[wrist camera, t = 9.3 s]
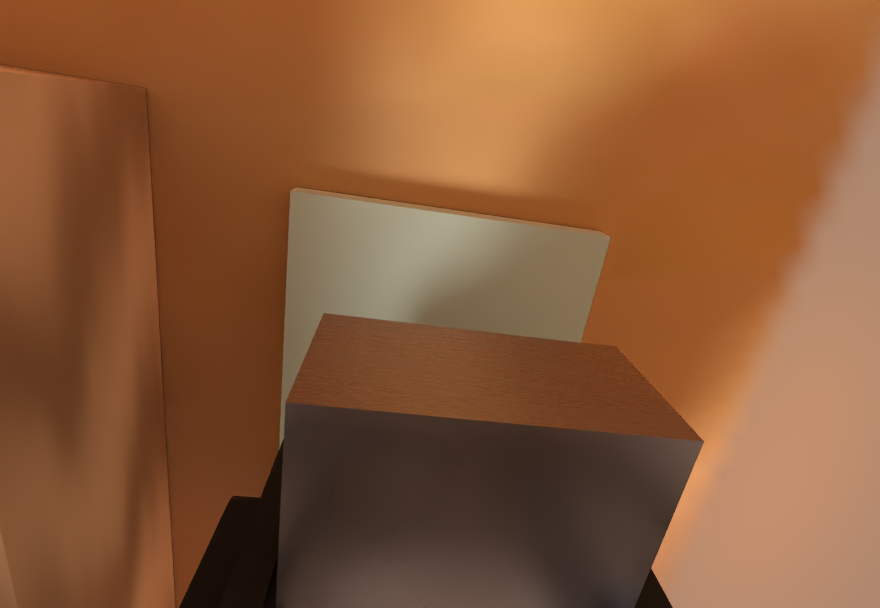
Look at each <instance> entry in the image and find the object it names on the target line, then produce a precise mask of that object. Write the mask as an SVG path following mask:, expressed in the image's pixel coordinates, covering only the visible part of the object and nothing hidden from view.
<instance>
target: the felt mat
mask: <svg viewBox="0 0 880 608" xmlns="http://www.w3.org/2000/svg"><path fill="white" fill-rule="evenodd" d="M610 239H611V237H610V236H608V235H606V234H605V233H603V232H601V231H596V230H589V229H582V228H575V227H568V226H561V225H554V224H547V223H540V222H534V221H527V220H520V219H513V218H506V217H499V216H492V215H485V214H479V213H472V212H465V211H458V210H451V209H444V208H437V207H430V206H423V205H417V204H410V203H403V202H396V201H389V200H382V199H375V198H368V197H361V196H355V195H348V194H341V193H334V192H327V191H320V190H313V189H306V188H299V187H296V188H294V189H293V190H291V191H290V209H289V231H288V254H287V277H286V299H285V322H284V345H283V368H282V390H281V413H280V436H279V449H280V446H281V444H282V441H283V439H284V423H285V402H286V400H287V398H288V395H289V393H290V391H291V388H292V386H293V384H294V381H295V379H296V377H297V374H298V372H299V369H300V367H301V365H302V362H303V360H304V358H305V355H306V353H307V351H308V348H309V346H310V344H311V341H312V339H313V337H314V334H315V332H316V330H317V327H318V325H319V323H320V320H321V318H322V316H323V313H328V314H337V315H345V316H354V317H363V318H371V319H380V320H388V321H397V322H406V323H414V324H423V325H432V326H440V327H449V328H457V329H466V330H475V331H483V332H492V333H500V334H509V335H518V336H526V337H535V338H544V339H552V340H561V341H569V342H578V343H581V340H582V337H583V333H584V330H585V326H586V323H587V319H588V316H589V312H590V309H591V305H592V302H593V298H594V295H595V291H596V288H597V284H598V281H599V277H600V274H601V270H602V267H603V263H604V260H605V256H606V253H607V249H608V246H609V243H610Z"/></svg>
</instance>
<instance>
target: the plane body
mask: <svg viewBox="0 0 880 608" xmlns="http://www.w3.org/2000/svg"><path fill="white" fill-rule="evenodd" d="M0 608H175V592H174V575H173V557H172V539H171V522H170V504H169V487H168V469H167V451H166V434H165V416H164V398H163V381H162V363H161V346H160V328H159V310H158V293H157V275H156V257H155V240H154V222H153V204H152V187H151V169H150V152H149V134H148V116H147V99H146V88H140V87H134V86H128V85H122V84H116V83H110V82H103V81H97V80H91V79H85V78H79V77H73V76H67V75H61V74H55V73H48V72H42V71H36V70H30V69H24V68H18V67H12V66H6V65H0Z"/></svg>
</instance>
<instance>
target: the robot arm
mask: <svg viewBox="0 0 880 608" xmlns="http://www.w3.org/2000/svg"><path fill="white" fill-rule="evenodd" d="M283 443H284V439H283V441H282V444H281V446H280V449H279V452H278V454H277V457H276V459H275V462H274V464H273V467H272V470H271V472H270V475H269V477H268V480H267V483H266V485H265V488H264V490H263V493H262V496H261V498H256V497H242V496H233V497H232V498H231V499H230V501H229V503H228V505H227V507H226V509H225V511H224V513H223V515H222V517H221V519H220V522H219V524H218V526H217V528H216V530H215V532H214V534H213V537H212V539H211V541H210V543H209V545H208V547H207V549H206V552H205V554H204V556H203V558H202V560H201V562H200V564H199V567H198V569H197V571H196V573H195V575H194V577H193V579H192V582H191V584H190V586H189V588H188V590H187V592H186V594H185V597H184V599H183V601H182V603H181V605H180V607H179V608H276V588H277V567H278V547H279V526H280V505H281V485H282V464H283ZM634 608H673V607H672V606H671V604H670V602H669V600H668V598H667V596H666V595H665V593H664V591H663V589H662V587H661V585H660V584H659V582H658V580H657V578H656V576H655V574H654V573H653V571H652V569H650V571H649V574H648V576H647V579H646V581H645V583H644V586H643V588H642V591H641V593H640V595H639V598H638V600H637V602H636V605H635V607H634Z"/></svg>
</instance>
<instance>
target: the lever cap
mask: <svg viewBox="0 0 880 608" xmlns="http://www.w3.org/2000/svg"><path fill="white" fill-rule="evenodd" d="M703 443H704V441H703V440H702V439H701V438H700V437H699V436H698V434H697V433H696V432H695V431H694V430H693V429H692V428H691V427H690V426H689V425H688V424H687V423H686V422H685V420H684V419H683V418H682V417H681V416H680V415H679V414H678V413H677V412H676V411H675V410H674V409H673V408H672V407H671V405H670V404H669V403H668V402H667V401H666V400H665V399H664V398H663V397H662V396H661V395H660V394H659V393H658V391H657V390H656V389H655V388H654V387H653V386H652V385H651V384H650V383H649V382H648V381H647V380H646V379H645V377H644V376H643V375H642V374H641V373H640V372H639V371H638V370H637V369H636V368H635V367H634V366H633V365H632V363H631V362H630V361H629V360H628V359H627V358H626V357H625V356H624V355H623V354H622V353H621V352H620V351H619V349H618V348H617V347H612V346H604V345H595V344H587V343H578V342H569V341H561V340H552V339H544V338H535V337H526V336H518V335H509V334H500V333H492V332H483V331H475V330H466V329H457V328H449V327H440V326H432V325H423V324H414V323H406V322H397V321H388V320H380V319H371V318H363V317H354V316H345V315H337V314H328V313H323V316H322V318H321V320H320V323H319V325H318V327H317V330H316V332H315V334H314V337H313V339H312V341H311V344H310V346H309V348H308V351H307V353H306V355H305V358H304V360H303V362H302V365H301V367H300V369H299V372H298V374H297V377H296V379H295V381H294V384H293V386H292V388H291V391H290V393H289V395H288V398H287V400H286V402H285V423H284V443H283V464H282V485H281V505H280V526H279V547H278V567H277V588H276V608H634V607H635V605H636V602H637V600H638V598H639V595H640V593H641V591H642V588H643V586H644V583H645V581H646V579H647V576H648V574H649V571H650V569H651V567H652V564H653V562H654V560H655V557H656V555H657V552H658V550H659V548H660V545H661V543H662V540H663V538H664V536H665V533H666V531H667V529H668V526H669V524H670V521H671V519H672V517H673V514H674V512H675V509H676V507H677V505H678V502H679V500H680V498H681V495H682V493H683V490H684V488H685V486H686V483H687V481H688V478H689V476H690V474H691V471H692V469H693V466H694V464H695V462H696V459H697V457H698V455H699V452H700V450H701V447H702V445H703Z"/></svg>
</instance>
